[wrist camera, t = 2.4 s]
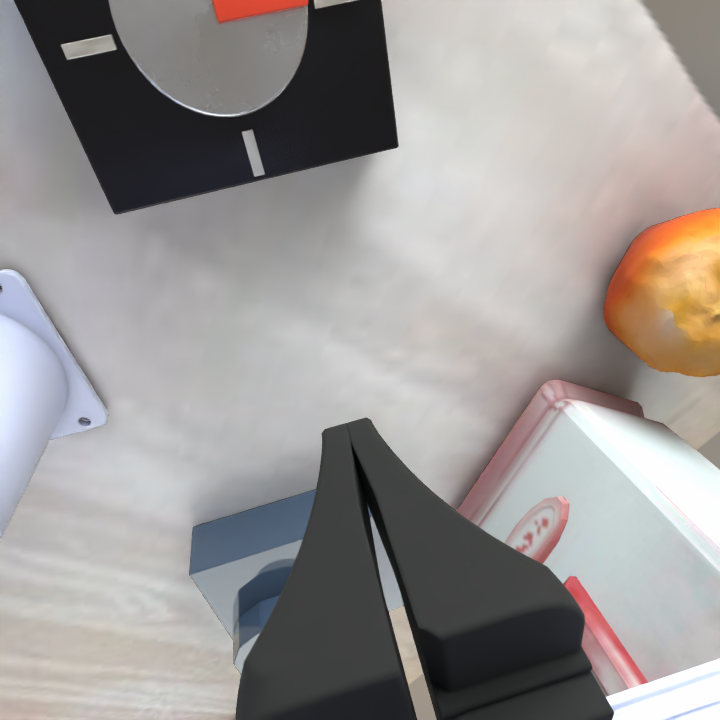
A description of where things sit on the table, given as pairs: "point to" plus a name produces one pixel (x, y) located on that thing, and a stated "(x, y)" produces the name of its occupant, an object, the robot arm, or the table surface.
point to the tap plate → (208, 133)
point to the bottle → (612, 528)
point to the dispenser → (260, 565)
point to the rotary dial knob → (215, 49)
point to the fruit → (671, 295)
